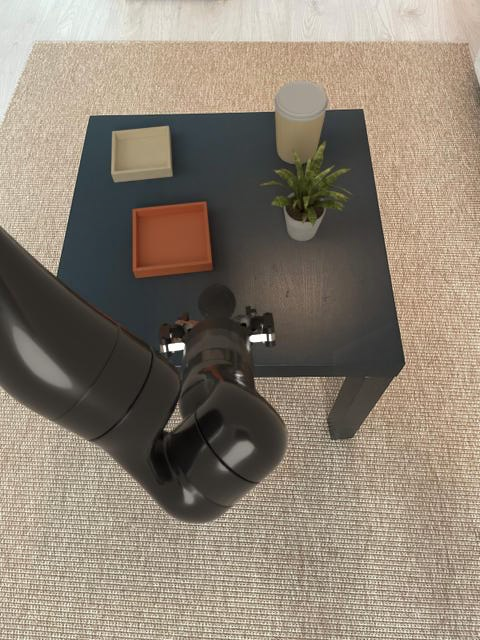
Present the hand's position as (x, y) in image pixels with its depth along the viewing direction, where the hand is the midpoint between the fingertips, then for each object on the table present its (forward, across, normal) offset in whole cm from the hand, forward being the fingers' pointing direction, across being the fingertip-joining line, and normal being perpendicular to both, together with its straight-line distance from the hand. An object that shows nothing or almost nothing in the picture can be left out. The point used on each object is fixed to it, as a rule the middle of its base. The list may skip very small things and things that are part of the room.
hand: (217, 316), depth 66 cm
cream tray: (+37, +12, -22) cm, 45 cm away
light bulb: (+10, 0, +5) cm, 12 cm away
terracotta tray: (+22, +7, -7) cm, 25 cm away
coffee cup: (+36, -18, -21) cm, 45 cm away
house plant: (+22, -15, -6) cm, 27 cm away
